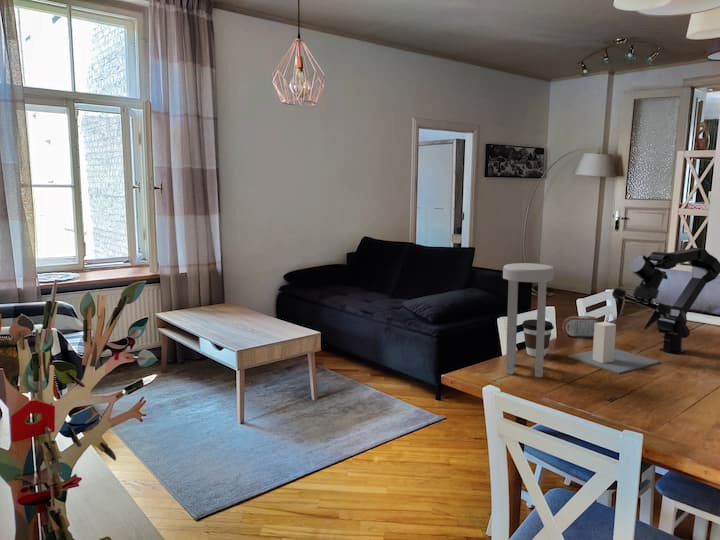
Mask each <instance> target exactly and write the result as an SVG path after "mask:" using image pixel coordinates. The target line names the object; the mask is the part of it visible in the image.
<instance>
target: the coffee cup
mask: <svg viewBox="0 0 720 540" xmlns="http://www.w3.org/2000/svg"><path fill="white" fill-rule="evenodd" d="M521 328H523V336H524V342H525V349H526V353H527V355H528V356H529V355H530V356H529V357H532V356H534V358H536V334H537V318H536V319H526V320H523V321H522V323H521ZM552 330H554V325H553V323H552V322H550V321H549V320H545V334H544V357H546V355H547V352H548V348H549V346H550V342H551V341H550V340H551V335H552Z"/></svg>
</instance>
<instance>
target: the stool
mask: <svg viewBox="0 0 720 540" xmlns="http://www.w3.org/2000/svg"><path fill="white" fill-rule="evenodd" d="M554 268H555V267H553V266H552V265H548V264H544V263H543V264H542V263H541V264H540V263H534V262H532V263H528V262H527V263H526V262H525V263H523V262H522V263H521V262H518V263H508V264H504V266H503V268H502V278H503V280H507V281H508V282H507V283H508V287H507V288H508V289H507V318H506V319H507V321H506V322H507V323H506V324H507V325H506V352H505V353H506V355H505V356H506V357H505V374H506V375H512V374H513V375H514V374H515V373H514V370H515V366H516V359H517V327H518V325H517V324H518V302H519V301H518V300H519V299H518V297H519V296H518V295H519V283H520V282H521V283H538V287H537V310H536V311H537V313H536V315H537V316H536V320H537V334H536V357H535V359H534V361H535V365H534V366H535V367H534V377H535V378H541V377H542V378H543V375H544V374H543V373H544V371H543V370H544V357H545V356H544V334H545V321H546V308H547V307H546V305H547V303H546V302H547V301H546V300H547V282H551V281H554V276H555V275H554V273H555V269H554Z"/></svg>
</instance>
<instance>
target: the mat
mask: <svg viewBox="0 0 720 540" xmlns="http://www.w3.org/2000/svg"><path fill="white" fill-rule="evenodd" d="M567 358H568V359H571V360H574V361H576V362H577V361H578V362H581V363H583V364H587V365H589V366H592V367H596V368H598V367H599V369H602V370H604V371H607V372H610V373H614V374H617V375H620V373H621V374H623V373H629V372H631V371H634V370H636V371H637V370H638V369H639V370H640V369H642V368H646V367H650V366H654V365H658V364H661V361H660V360H657V359H653V358H650V357H646V356H642V355H640V354H639V355H638V354H635V353H632V352H629V351H625V350H622V349H618V348H615V351H614V361H613V362H607V363H601V362H598V361H596V360H593V349H592V350H588V351H584V352H580V353H576V354H570V355H567Z"/></svg>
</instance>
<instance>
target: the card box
mask: <svg viewBox="0 0 720 540" xmlns="http://www.w3.org/2000/svg"><path fill="white" fill-rule="evenodd" d="M616 333H617V324H615V323H612V322H608V321H600V322H599V323H595V324H594V337H593V343H592V344H593V346H592V350H593V360H596V361H598V362H601V363H607V362H613V361H614V351H615V349H616V347H615V346H616V335H617V334H616Z"/></svg>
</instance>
